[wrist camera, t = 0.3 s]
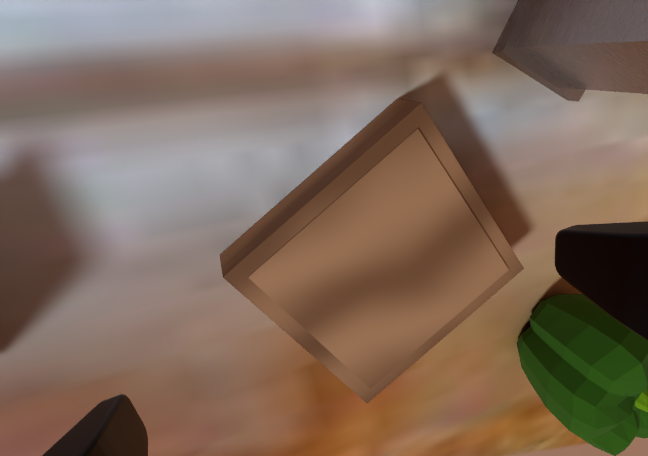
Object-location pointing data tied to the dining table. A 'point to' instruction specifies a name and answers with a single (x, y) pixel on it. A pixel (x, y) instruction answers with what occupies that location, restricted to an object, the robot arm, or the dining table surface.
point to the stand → (375, 252)
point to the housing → (579, 44)
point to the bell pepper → (588, 371)
